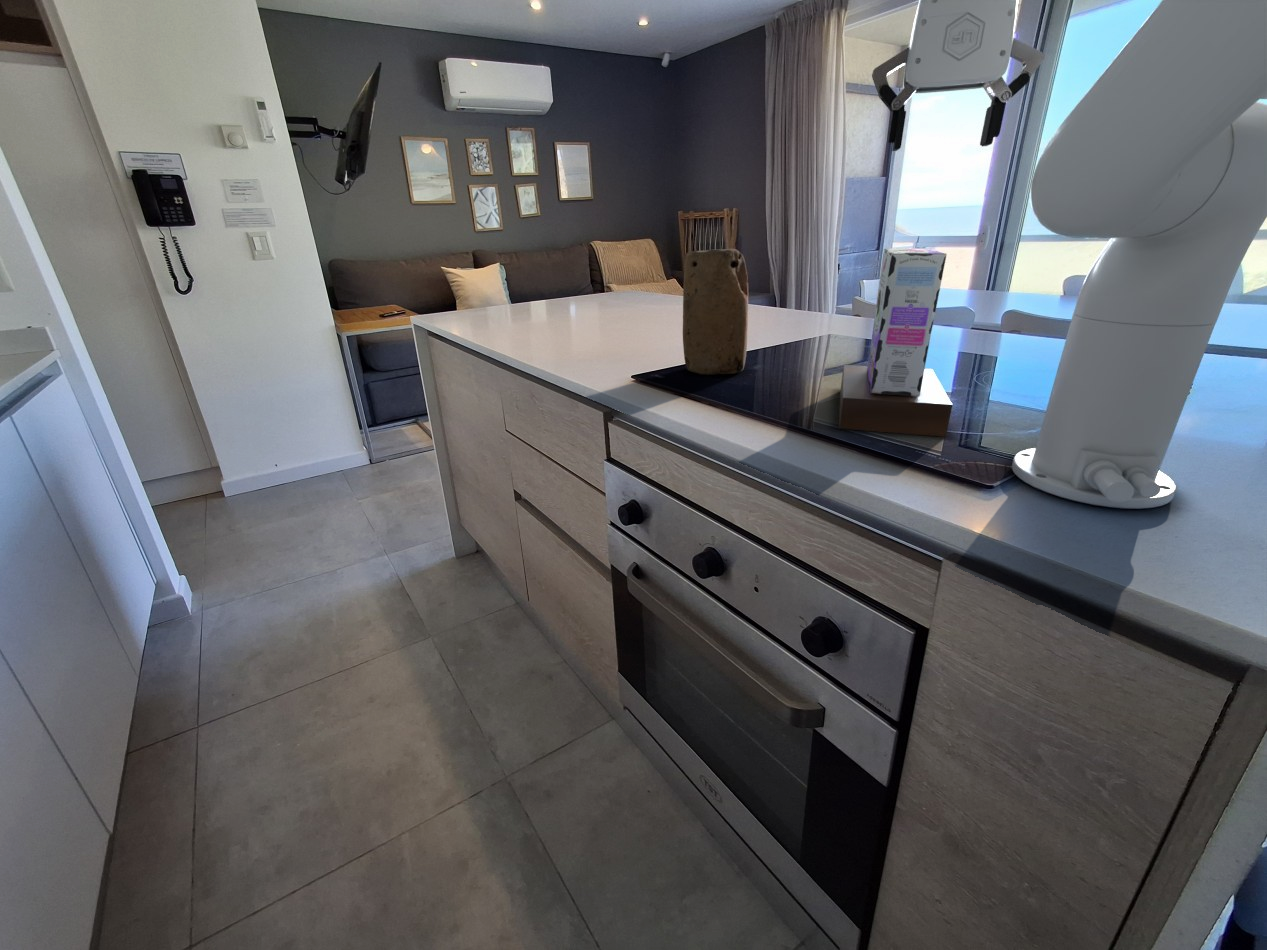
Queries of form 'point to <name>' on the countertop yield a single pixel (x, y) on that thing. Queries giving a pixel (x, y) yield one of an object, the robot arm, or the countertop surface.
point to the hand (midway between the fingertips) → (940, 147)
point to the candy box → (904, 319)
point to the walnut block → (893, 406)
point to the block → (715, 311)
